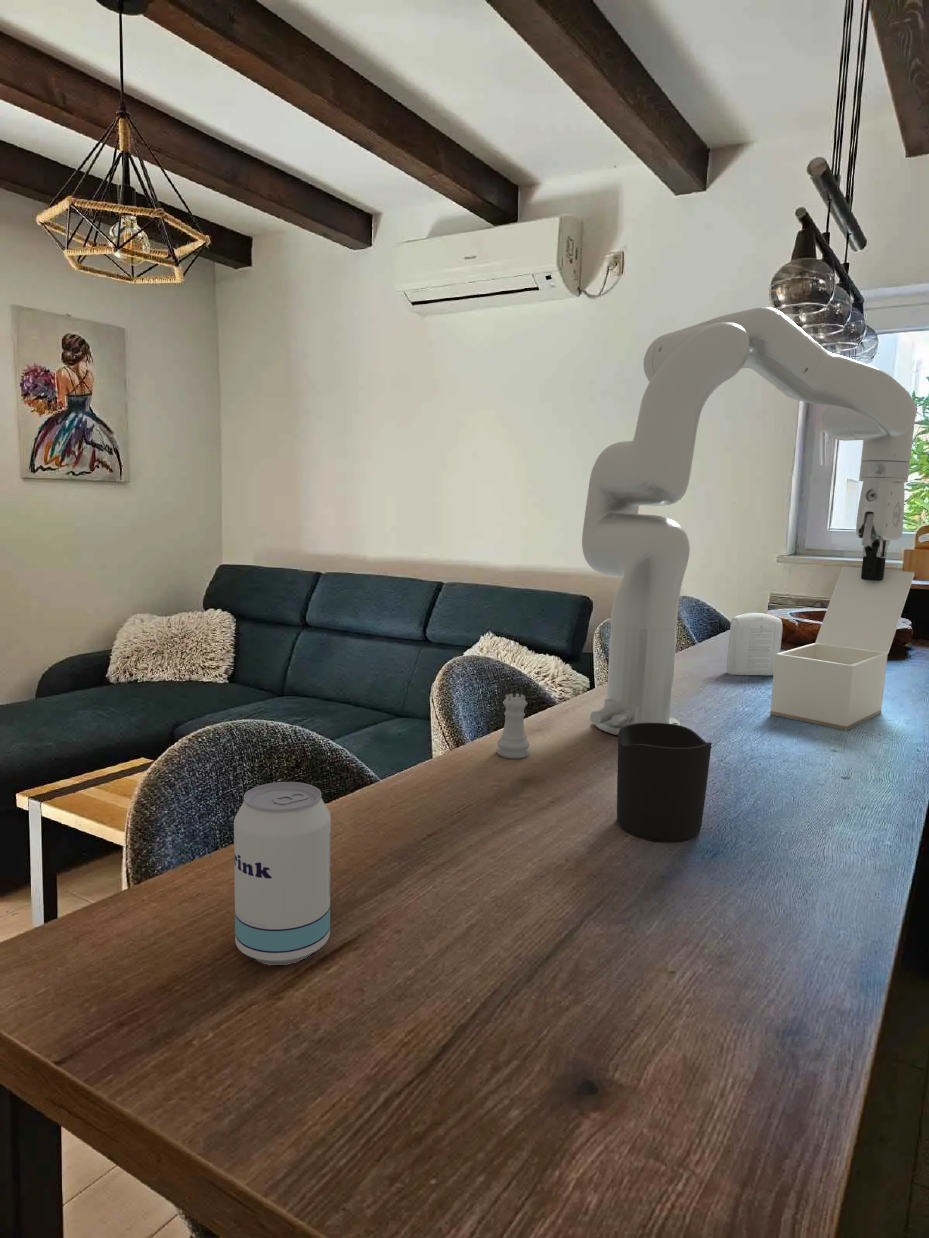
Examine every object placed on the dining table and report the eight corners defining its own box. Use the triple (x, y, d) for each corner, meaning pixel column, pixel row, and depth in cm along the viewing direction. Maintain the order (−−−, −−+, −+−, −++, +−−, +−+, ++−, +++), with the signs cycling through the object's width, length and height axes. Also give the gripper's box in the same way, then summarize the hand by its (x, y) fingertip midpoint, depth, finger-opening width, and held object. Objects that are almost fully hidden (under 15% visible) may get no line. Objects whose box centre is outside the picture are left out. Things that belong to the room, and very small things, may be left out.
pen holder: (714, 822, 90) (721, 732, 88) (690, 853, 82) (697, 754, 80) (630, 803, 95) (636, 717, 93) (599, 831, 87) (605, 737, 85)
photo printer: (770, 672, 170) (776, 611, 168) (781, 676, 165) (787, 615, 164) (722, 672, 168) (727, 611, 166) (732, 676, 164) (737, 614, 162)
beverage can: (218, 945, 63) (215, 792, 61) (296, 915, 68) (296, 772, 66) (267, 985, 58) (266, 820, 56) (348, 950, 63) (349, 797, 61)
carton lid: (913, 572, 143) (914, 574, 143) (842, 566, 151) (843, 568, 151) (887, 652, 138) (888, 654, 138) (815, 641, 146) (816, 643, 146)
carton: (846, 730, 128) (853, 666, 126) (770, 714, 136) (775, 653, 134) (881, 712, 139) (887, 653, 138) (808, 698, 147) (814, 643, 146)
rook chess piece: (490, 756, 110) (492, 696, 109) (504, 747, 114) (507, 690, 113) (521, 762, 108) (524, 701, 107) (535, 753, 112) (537, 694, 111)
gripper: (893, 471, 135) (880, 584, 138) (920, 475, 146) (908, 580, 148) (845, 470, 140) (833, 579, 143) (875, 475, 151) (864, 576, 154)
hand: (871, 579), depth 146 cm, fingers closed
